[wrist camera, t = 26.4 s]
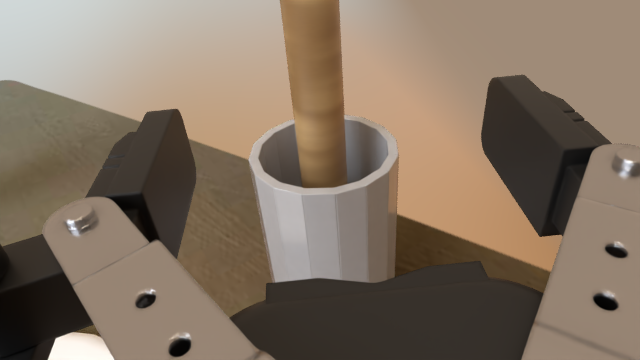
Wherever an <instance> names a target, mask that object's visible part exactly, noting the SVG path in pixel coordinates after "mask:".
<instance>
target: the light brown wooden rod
mask: <svg viewBox="0 0 640 360" xmlns="http://www.w3.org/2000/svg"><path fill="white" fill-rule="evenodd" d="M280 4H281V13H282V21H283V30H284V38H285V47H286V55H287V64H288V72H289V80H290V89H291V97H292V105H293V114H294V122H295V131H296V139H297V147H298V156H299V164H300V173H301V181H302V188H334V187H338V186H342V185H346V184H348V183H347V161H346V140H345V118H344V97H343V77H342V54H341V33H340V12H339V0H280Z"/></svg>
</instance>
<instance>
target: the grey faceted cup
mask: <svg viewBox="0 0 640 360" xmlns="http://www.w3.org/2000/svg"><path fill="white" fill-rule="evenodd" d="M344 118H345V140H346V161H347V183H348V184H346V185H342V186H338V187H334V188H302V181H301V173H300V164H299V156H298V147H297V139H296V131H295V122H294V119H293V120H290V121H287V122H284V123H282V124H280V125H278V126H276V127H274V128H272V129H270V130H269V131H267V132H266V133H265V134H264V135H263V136H261V137H260V138H259V139H258V140H257V141H256V142H255V143H254V145H253V147H252V151H251V154H250V157H249V165H250V170H251V175H252V180H253V185H254V191H255V196H256V201H257V206H258V211H259V216H260V221H261V226H262V231H263V236H264V241H265V246H266V252H267V257H268V262H269V267H270V272H271V277H272V282H273V283H274V282H284V281H294V280H303V279H313V278H326V279H337V280H347V281H357V282H368V283H377V282H382V281H385V280H388V279H391V278H394V277H395V252H396V222H397V191H398V159H399V154H398V147H397V140H396V139H395V138H394V136H392V134H390V132H389V131H387V129H386V128H385V127H383V126H382V125H380V124H377V123H375V122H373V121H370V120H368V119H366V118H363V117H357V116H351V115H345V114H344Z"/></svg>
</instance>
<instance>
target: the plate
mask: <svg viewBox="0 0 640 360" xmlns="http://www.w3.org/2000/svg"><path fill="white" fill-rule="evenodd" d="M48 360H114V358H113V356H112V355H111V353H110V351H109V350H108V348H107V346H106V344H105V343H104V341H103V339H102V338H101V337H99V336H96V335H94V334H85V333H76V332H72V333H69V334H66V335H64V336H61V337H58V338H56V339H55V342H54V345H53V347H52V350H51V353H50V355H49V358H48Z"/></svg>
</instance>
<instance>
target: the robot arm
mask: <svg viewBox="0 0 640 360" xmlns="http://www.w3.org/2000/svg"><path fill="white" fill-rule="evenodd" d="M481 138H482V139H481V140H482V147H483V150H484V153H485V155H486V156H487V158H488V159H489V161H490V162H491V164H492V165H493V167H494V168H495V170H496V171H497V173H498V174H499V176H500V178H501V179H502V180H503V182H504V184H505V185H506V186H507V188H508V189H509V191H510V193H511V194H512V196H513V197H514V199H515V200H516V202H517V203H518V205H519V206H520V208H521V209H522V211H523V212H524V214H525V215H526V217H527V218H528V220H529V221H530V223H531V224H532V226H533V227H534V229H535V230H536V232H537V233H538V235H539V236H540V237H542V236H551V235H562V236H563V238H562V241H561V244H560V247H559V250H558V253H557V256H556V259H555V262H554V265H553V268H552V271H551V274H550V277H549V280H548V283H547V286H546V289H545V291H544V294H543V293H541V292H539V291H537V290H535V289H533V288H530V287H527V286H525V285H522V284H519V283H516V282H512V281H509V280H504V279H499V278H493V277H488V276H487V274H486V272H485V270H484V268H483V266H482V264H481V261H474V262H465V263H455V264H446V265H436V266H428V267H424V268H421V269H418V270H415V271H412V272H409V273H406V274H403V275H400V276H397V277H394V278H391V279H388V280H385V281H382V282H377V283H368V282H357V281H347V280H337V279H326V278H313V279H303V280H294V281H284V282H274V283H266V300H264V301H262V302H259V303H256V304H254V305H252V306H249V307H247V308H245V309H243V310H242V311H240V312H238V313H236V314H235V315H233V316H232V317H230V318H228V316H227V315H226V314H225V313H224V312H223V311H222V310H221V309H220V307H219V306H218V305H217V304H216V303H215V302H214V301H213V300H212V299H211V297H210V296H209V295H208V294H207V293H206V292H205V291H204V290H203V289H202V287H201V286H200V285H199V284H198V283H197V282H196V281H195V280H194V278H193V277H192V276H191V275H190V274H189V273H188V272H187V271H186V270H185V268H184V267H183V266H182V265H181V264H180V263H179V262H178V261H177V256H178V252H179V248H180V244H181V240H182V236H183V232H184V228H185V224H186V220H187V216H188V212H189V208H190V204H191V200H192V196H193V192H194V188H195V184H196V167H195V162H194V158H193V154H192V151H191V147H190V144H189V140H188V137H187V133H186V130H185V126H184V123H183V119H182V116H181V114H180V112H179V110H178V109H170V110H161V111H151V112H147V113H146V114H145V116H144V118H143V120H142V122H141V124H140V126H139V128H138V130H137V132H131V133H128V134H127V135H125V136H124V137H123V138H122V139H121V140H119V141H118V142H117V143H116V144H115V145H114V147H113V148H112V150H111V152H110V154H109V156H108V159H106V161H105V163H104V165H103V166H102V167H103V169H101V170H100V172H99V174H98V176H97V177H96V179H95V181H94V183H93V185H92V186H91V188H90V190H89V192H88V194H87V195H86V197H85V198H84V199H80V200H77V201H74V202H71V203H69V204H67V205H65V206H63V207H62V208H60V209H58V210H57V211H56V212H54V213H53V214H52V215H51V216H50V217H49V218H48V219H47V221H46V222H45V224H44V226H43V229H42V233H43V234H41V235H38V236H35V237H32V238H29V239H26V240H22V241H19V242H16V243H13V244H9V245H6V246H3V247H2V246H1V244H0V360H48V358H49V355H50V353H51V350H52V347H53V345H54V342H55V339H56V338H58V337H61V336H64V335H66V334H69V333H72V332H75V331H77V330H80V329H83V328H85V327H88V326H91V325H95V327H96V329H97V330H98V332H99V334H100V336H101V337H102V339H103V341H104V343H105V344H106V346H107V348H108V350H109V351H110V353H111V355H112V356H113V358H114V360H640V147H638V146H634V145H628V144H612V143H611V142H610V141H609V140H607V139H606V138H605V137H604V136H603V135H602V134H601V133H600V132H599V131H597V130H596V129H595V128H594V127H593V126H592V125H591V124H590V123H589V122H587V121H584V118H583V117H582V116H581V115H579V114H578V113H577V112H575V110H574V109H573V108H572V107H571V106H570V105H568V104H567V103H566V102H565V101H564V100H563V99H561V98H558V97H556V96H554V95H552V94H550V93H547V92H545V91H544V92H542V91H541V90H540V89H539V88H538V87H537V86H536V85H535V84H534V83H533V82H531V81H530V80H529V79H528V78H527V77H526V76H525V75H515V76H506V77H496V78H492V80H491V81H490V83H489V87H488V92H487V99H486V105H485V112H484V119H483V126H482V133H481Z"/></svg>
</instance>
